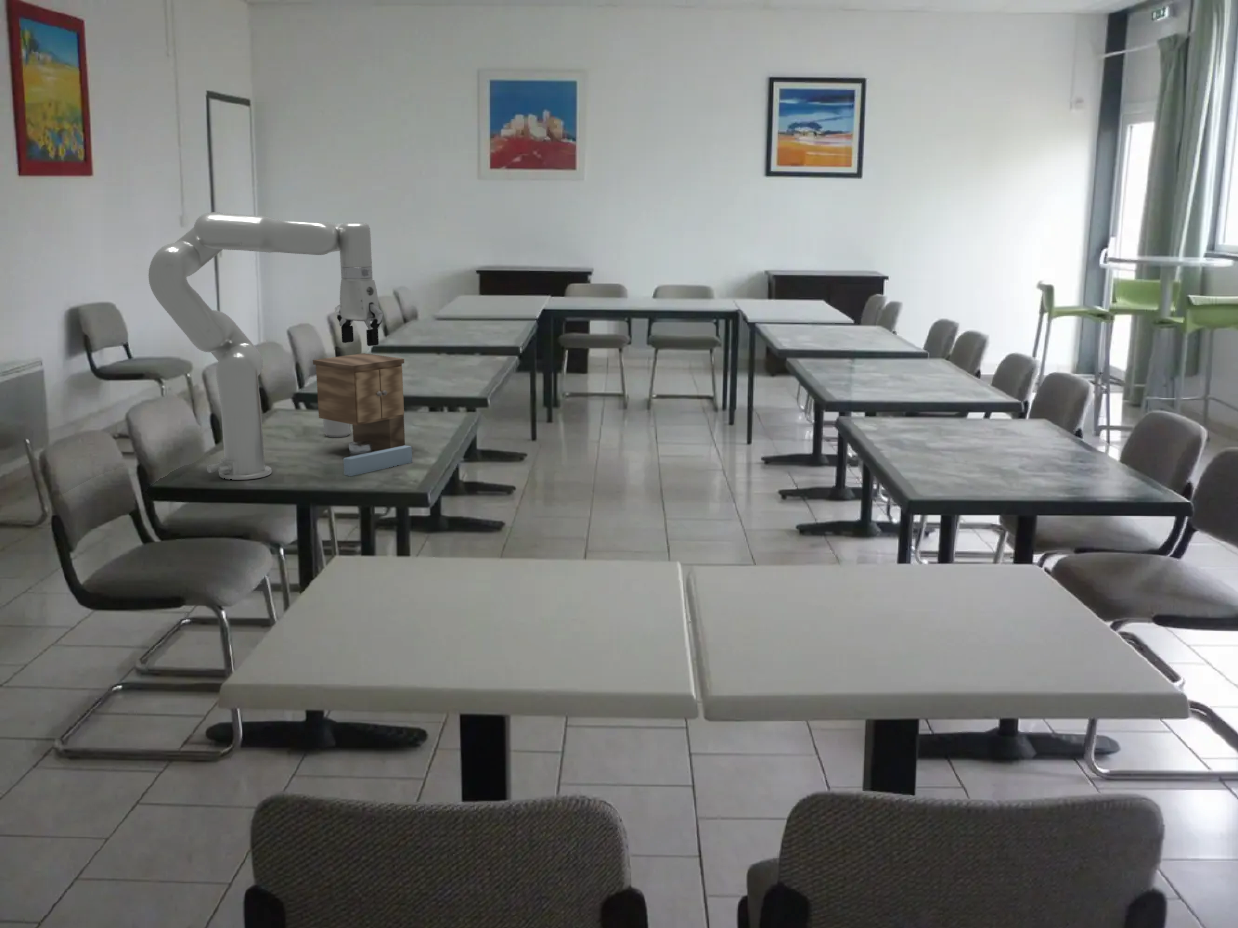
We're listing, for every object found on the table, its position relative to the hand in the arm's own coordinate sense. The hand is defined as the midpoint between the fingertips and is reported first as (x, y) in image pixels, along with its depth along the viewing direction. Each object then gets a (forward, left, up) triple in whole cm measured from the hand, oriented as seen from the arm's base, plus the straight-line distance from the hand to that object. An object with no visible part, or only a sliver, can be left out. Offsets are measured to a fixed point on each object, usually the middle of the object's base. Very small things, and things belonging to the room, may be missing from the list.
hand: (360, 343), depth 306 cm
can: (+23, +42, -33) cm, 58 cm away
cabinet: (+14, +19, -32) cm, 40 cm away
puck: (+10, +15, -32) cm, 37 cm away
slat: (+4, 0, -33) cm, 33 cm away
